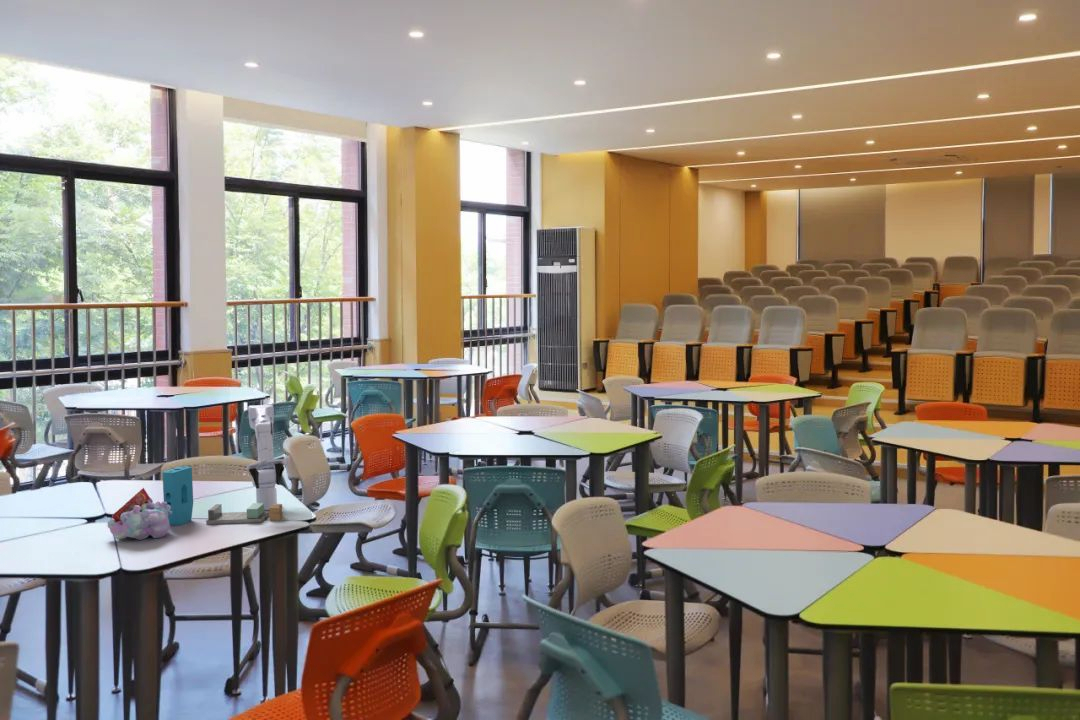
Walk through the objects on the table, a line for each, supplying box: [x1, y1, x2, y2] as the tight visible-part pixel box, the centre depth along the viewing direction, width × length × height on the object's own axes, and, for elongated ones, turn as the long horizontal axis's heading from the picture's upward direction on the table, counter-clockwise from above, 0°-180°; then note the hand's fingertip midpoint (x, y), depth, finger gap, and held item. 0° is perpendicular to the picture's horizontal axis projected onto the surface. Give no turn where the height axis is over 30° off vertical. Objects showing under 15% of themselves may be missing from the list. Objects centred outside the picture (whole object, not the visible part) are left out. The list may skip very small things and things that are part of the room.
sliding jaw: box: [246, 502, 265, 518], centre depth 347 cm, size 10×4×3 cm, turn 3°
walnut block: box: [268, 503, 284, 522], centre depth 348 cm, size 6×4×5 cm, turn 3°
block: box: [162, 466, 194, 527], centre depth 343 cm, size 12×5×20 cm, turn 167°
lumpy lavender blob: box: [107, 487, 172, 541], centre depth 323 cm, size 20×22×18 cm
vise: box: [205, 503, 269, 525], centre depth 347 cm, size 12×20×5 cm, turn 93°
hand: (267, 485), depth 345 cm, fingers open, 7 cm apart
